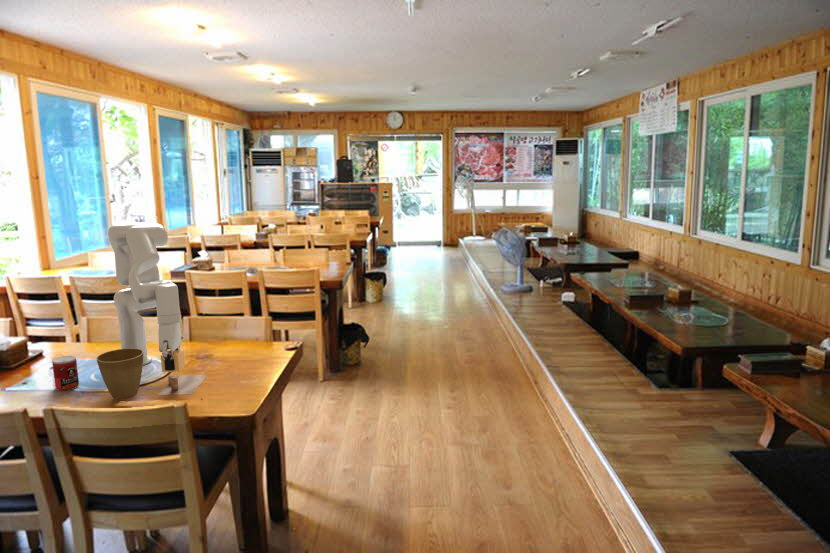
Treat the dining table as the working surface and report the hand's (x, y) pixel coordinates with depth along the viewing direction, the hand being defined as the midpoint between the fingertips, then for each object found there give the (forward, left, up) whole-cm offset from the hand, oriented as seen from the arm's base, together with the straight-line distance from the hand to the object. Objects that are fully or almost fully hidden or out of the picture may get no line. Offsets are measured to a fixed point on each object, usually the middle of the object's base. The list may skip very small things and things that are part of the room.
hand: (173, 366), depth 212 cm
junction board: (+1, +5, -10) cm, 12 cm away
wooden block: (0, 0, -1) cm, 1 cm away
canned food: (-43, +9, -10) cm, 45 cm away
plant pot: (-17, -2, -10) cm, 20 cm away
